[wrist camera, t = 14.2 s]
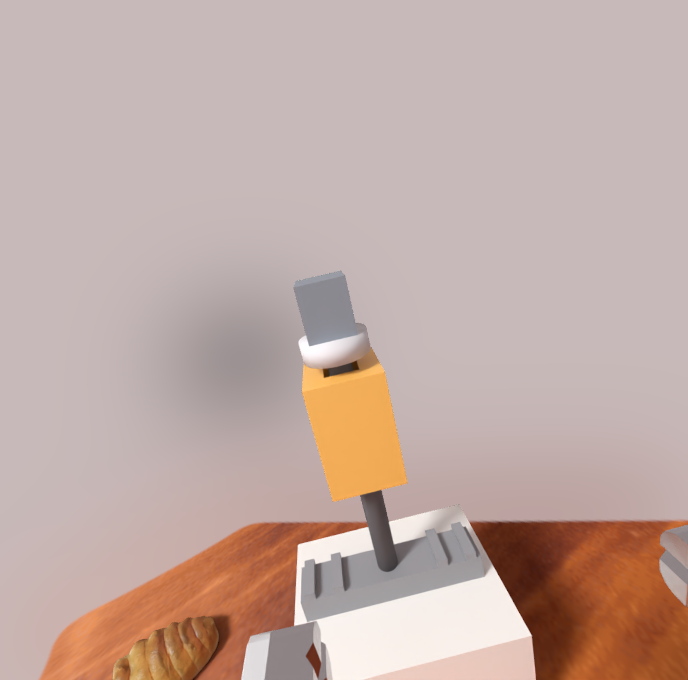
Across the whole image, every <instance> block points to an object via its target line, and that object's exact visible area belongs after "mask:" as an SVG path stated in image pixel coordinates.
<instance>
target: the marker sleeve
mask: <svg viewBox="0 0 688 680" xmlns="http://www.w3.org/2000/svg"><path fill="white" fill-rule="evenodd" d="M352 366H353V370H354V371H351V372H347V373H343V374H338V375H334V376H330V375H329V371H328V368H326V369H314V368H309V367H307V366H305V364H304V369H303V386H302V394H303V397H304V401H305V404H306V408H307V411H308V415H309V418H310V422H311V425H312V429H313V433H314V436H315V440H316V443H317V446H318V450H319V454H320V457H321V461H322V464H323V468H324V472H325V475H326V479H327V482H328V486H329V489H330V493H331V496H332V500H333V502H335V501H339V500H343V499H346V498H351V497H354V496H359V495H363V494H367V493H371V492H375V491H379V490H383V489H386V488H391V487H395V486H399V485H403V484H406V483H407V478H406V473H405V468H404V464H403V458H402V454H401V449H400V444H399V440H398V434H397V429H396V424H395V419H394V415H393V410H392V405H391V400H390V395H389V390H388V385H387V380H386V376H385V372H384V370H383V368H382V366H381V364H380V362H379V361H378V359H377V357H376V355H375V353H374V352H373V350H372V348H371V349H370V351H369V353H368V354H366V355H365V356H364V357H362V358H360V359H358V360H356V361H354V362H352Z"/></svg>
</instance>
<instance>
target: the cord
mask: <svg viewBox="0 0 688 680" xmlns="http://www.w3.org/2000/svg"><path fill="white" fill-rule="evenodd" d="M294 292H295V295H296V299H297V303H298V307H299V310H300V314H301V318H302V322H303V325H304V329H305V333H306V335H305V336H304V337H302V338H301V339H300V340H299V346H300V350H301V353H302V358H303V361H304V364H305V366H307V367H309V368H314V369H326V368H328V371H329V375H330V376H334V375H338V374H343V373H347V372H351V371H354V370H353V366H352V362H354V361H356V360H358V359H360V358H362V357H364V356H365V355H366V354H368V353H369V351H370V349H371V347H370V343H369V338H368V333H367V329H366V326H365V325H364V324H361V323H355V319H354V314H353V310H352V305H351V301H350V296H349V292H348V287H347V283H346V278H345V275H344V274H343V273H342V271H338V272H334V273H329V274H325V275H321V276H317V277H312V278H308V279H304V280H299V281H296V282H295V285H294ZM360 497H361V501H362V504H363V508H364V512H365V516H366V520H367V524H368V528H369V532H370V536H371V540H372V544H373V548H374V552H375V556H376V560H377V564H378V567H379V568H380V570H382V571H384V572H390V571H393V570H394V569H395V568H396V567H397V564H398V560H397V555H396V551H395V547H394V543H393V538H392V534H391V530H390V525H389V521H388V517H387V512H386V508H385V504H384V499H383V495H382V491H381V490H379V491H375V492H371V493H367V494H363V495H360Z"/></svg>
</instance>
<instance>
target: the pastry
mask: <svg viewBox="0 0 688 680" xmlns="http://www.w3.org/2000/svg"><path fill="white" fill-rule="evenodd" d="M218 641H219V635H218V631H217V628H216V626H215V623H214V620H213V618H212V617H205V616H202V617H197V618H187V619H185V620H184V621H182V622H181V623H176V622H173V623H171V624H170V625H169V626H168V627H167V628H162V629H159V630H155V631H153V632H152V634H151V635H150V637H149V639H142V640H139V641H137V642H136V643H135V644H134V645H133V647H132V649H131V651H130V653H129V654H128V655H127V656H125V657H123V658H121V659H118V660H117V662H116V664H115V665H114V671H113V680H192V679H193V678H194V677H195V676H196V675H197V674H198V673H199V672H200V671H201V670H202V669H203V667H204V666H205V665H206V664H207V663H208V661H209V659H210V657H211V656H212V654H213V653H214V651H215V650H216V648H217V644H218Z"/></svg>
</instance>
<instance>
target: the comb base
mask: <svg viewBox="0 0 688 680" xmlns="http://www.w3.org/2000/svg"><path fill="white" fill-rule="evenodd" d="M389 525H390V530H391V534H392V538H393V543H394V547H395V551H396V555H397V560H398V564H397V567H396V568H395V569H394V570H393V571H390V572H384V571H382V570H380V568H379V567H378V564H377V560H376V556H375V552H374V548H373V544H372V540H371V536H370V532H369V528H368V527H366V528H362V529H358V530H354V531H350V532H347V533H343V534H339V535H335V536H331V537H327V538H323V539H319V540H315V541H311V542H307V543H303V544H299V545H298V558H297V580H296V602H295V624H294V626H296V625H300V624H305V623H309V622H313V621H317V623H318V625H319V628H320V630H321V642H323V643H324V644H326V647H327V650H328V654H329V658H330V662H331V670H332V678H333V680H536V675H535V665H534V655H533V645H532V635H531V634H530V632H529V630H528V628H527V626H526V625H525V623H524V621H523V619H522V617H521V615H520V614H519V612H518V610H517V608H516V606H515V605H514V603H513V601H512V599H511V597H510V596H509V594H508V592H507V590H506V588H505V586H504V585H503V583H502V581H501V579H500V577H499V576H498V574H497V572H496V570H495V568H494V567H493V565H492V563H491V561H490V559H489V557H488V556H487V554H486V552H485V550H484V548H483V547H482V545H481V543H480V541H479V539H478V538H477V536H476V534H475V532H474V530H473V528H472V527H471V525H470V523H469V521H468V519H467V518H466V516H465V514H464V512H463V510H462V509H461V507H460V505H459V504H458V505H454V506H450V507H446V508H442V509H438V510H434V511H430V512H426V513H422V514H418V515H414V516H410V517H406V518H402V519H398V520H394V521H390V522H389Z"/></svg>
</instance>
